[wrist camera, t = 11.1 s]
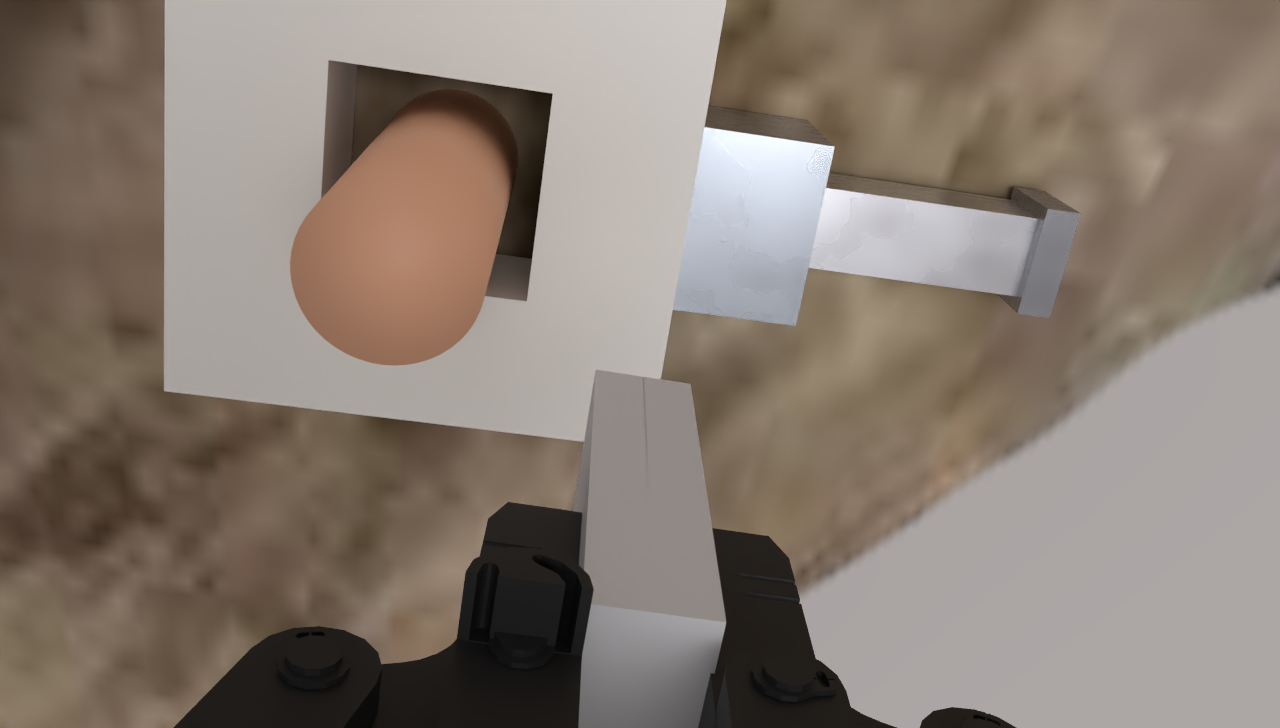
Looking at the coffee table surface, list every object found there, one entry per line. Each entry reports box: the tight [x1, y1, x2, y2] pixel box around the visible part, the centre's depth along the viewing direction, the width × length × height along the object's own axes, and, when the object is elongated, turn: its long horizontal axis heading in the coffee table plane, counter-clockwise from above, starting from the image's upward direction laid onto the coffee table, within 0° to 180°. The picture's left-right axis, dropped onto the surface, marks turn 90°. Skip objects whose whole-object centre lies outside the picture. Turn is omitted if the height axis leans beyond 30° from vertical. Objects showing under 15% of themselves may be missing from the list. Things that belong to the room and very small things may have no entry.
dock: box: [164, 0, 726, 442], centre depth 33 cm, size 14×14×4 cm
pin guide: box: [673, 106, 835, 326], centre depth 34 cm, size 4×5×4 cm
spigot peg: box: [290, 90, 518, 366], centre depth 29 cm, size 4×4×12 cm
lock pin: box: [809, 173, 1081, 318], centre depth 34 cm, size 10×3×3 cm, turn 81°
